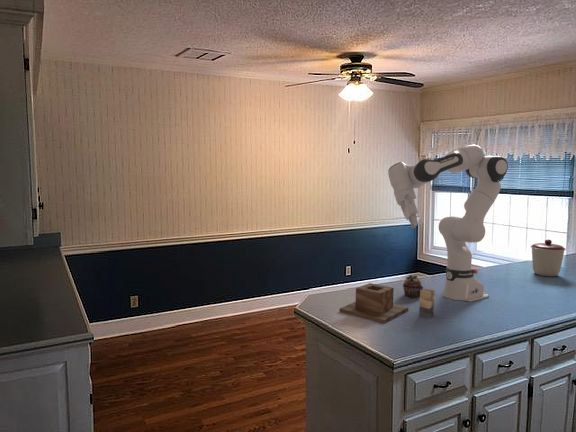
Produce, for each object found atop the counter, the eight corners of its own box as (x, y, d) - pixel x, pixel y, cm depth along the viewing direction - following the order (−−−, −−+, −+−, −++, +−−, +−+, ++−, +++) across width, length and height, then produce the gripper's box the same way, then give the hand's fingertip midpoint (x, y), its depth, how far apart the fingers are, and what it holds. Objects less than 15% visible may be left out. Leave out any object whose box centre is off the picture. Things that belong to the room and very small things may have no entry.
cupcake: (422, 299, 222) (423, 279, 221) (401, 297, 226) (402, 277, 224) (423, 294, 231) (424, 274, 230) (403, 292, 235) (404, 273, 233)
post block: (365, 300, 220) (365, 279, 219) (408, 310, 206) (409, 287, 205) (339, 311, 203) (339, 288, 202) (384, 323, 189) (385, 298, 188)
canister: (564, 273, 277) (566, 238, 275) (563, 280, 262) (566, 243, 259) (530, 269, 287) (532, 236, 284) (527, 275, 271) (529, 240, 269)
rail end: (423, 312, 203) (424, 288, 202) (433, 315, 200) (434, 290, 199) (419, 315, 199) (420, 290, 198) (429, 317, 197) (430, 292, 195)
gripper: (414, 191, 199) (424, 221, 197) (410, 198, 219) (419, 226, 217) (400, 195, 200) (410, 226, 198) (397, 202, 220) (406, 230, 218)
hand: (415, 226), depth 207 cm, fingers open, 8 cm apart
